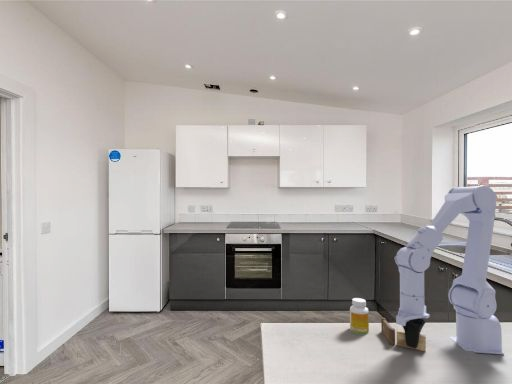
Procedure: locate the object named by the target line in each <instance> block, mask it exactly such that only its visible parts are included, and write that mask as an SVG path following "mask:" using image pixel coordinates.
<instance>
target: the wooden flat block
mask: <svg viewBox="0 0 512 384" xmlns="http://www.w3.org/2000/svg"><path fill="white" fill-rule="evenodd" d="M426 336H427V335H426V334H421V333H420V335H419V342H418V346H417V348H412V347H409V346H407V344H406V339H405V331H404V330H398V329H396V346H398V347H402V348H408V349H412V350H418V351H422V352H427V349H426V348H427V346H426V344H427V342H426V339H427V337H426Z"/></svg>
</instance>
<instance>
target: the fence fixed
mask: <svg viewBox="0 0 512 384" xmlns="http://www.w3.org/2000/svg"><path fill="white" fill-rule="evenodd" d="M380 320H381V324H380V325H381V333H382V334H383V335H384V337H385V338H386V339H387V341H388V344H389V346H396V329H395V328H393V327H392V326H391V325H390V323H388V321H387V319H386V318H385V317H381V319H380Z"/></svg>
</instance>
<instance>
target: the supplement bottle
mask: <svg viewBox="0 0 512 384" xmlns="http://www.w3.org/2000/svg"><path fill="white" fill-rule="evenodd" d="M351 300H352V301H351V304H352V305H351V306H350V308H349V331H351V332H352V333H354V334H357V335H368V334H369V333H370V329H369V327H370V324H369V323H370V321H369V320H370V319H369V318H370V317H369V316H370V315H369V313H370V311H369V308H368V307H366V306H367V301H366V299H364V298H360V297H354V298H351Z"/></svg>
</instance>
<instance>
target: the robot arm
mask: <svg viewBox="0 0 512 384" xmlns="http://www.w3.org/2000/svg"><path fill="white" fill-rule="evenodd" d="M497 199H498V195H497V194H496V193H495V191H494V190H493V189H492V188H491V187H490V186H489V185H485V184H482V185H477V186H454V187H452V188H450V189H449V190H448V192H447V194H445V195H444V203H443V204H442V206H441V207H440V209H439V210H438V212H437V213H436V215H435V216H434V218H433V219H432V221H431V222H430V224H429V225H424V226H421V227H418V229H417V232H416V234H415V235H414V236H413V238H412V239H411V240H410V241H408V243H407V245H406V246H404V247H401V248H400V249H399V250H398V251H397V252H396V255H395V256H394V261H395V264H396V266H397V267H398V273H399V308H398V311H397V312H398V313H397V314H396V316H395V320H396V321H395V324H397V325H400V326H402V328H403V331H405V339H406V344H407V346H409V347H412V348H417V346H418V342H419V335H420V334H421V332H422V330H423V327H424V326H425V325H426V320H425V319H429V318H430V316H431V315H430V313H427V305H425V271H426V270H427V269H428V268H430V265H431V259H432V256H433V253H434V252H435V250H436V249H437V248H438V247H439V245H440V244H441V243H442V241H443V240H444V237H443V233H444V231H446V229H447V228H448V227H449V226H450V225H451V224H452V222H453V221H455V220H456V218H457V217H458V216H459V215H460V214H461V215H463V216H464V217H465V218H466V219H467V220H468V221H469V224H468V228H467V231H468V232H467V236H466V242H465V243H466V244H465V251H464V257H463V265H462V271H461V275H459V276H457V277H456V278H454V279H453V281H452V285H451V287H450V289H449V290H448V293H447V295H448V300H449V303H450V304H451V305H453V310H455V317H456V318H455V324H456V326H455V327H456V328H455V329H456V330H455V331H456V332H455V333H456V336H449V339H451V340H452V341H453V342H455V344H457V345H458V346H459V347H461V349H463V350H464V351H466V352H467V351H469V352H474V353H478V354H492V355H494V354H495V355H505V352H504V350H503V342H502V341H503V340H502V339H503V337H502V336H503V335H502V334H503V333H502V326H501V322H500V321H499V319H498V318H497V316H495V313H496V311H497V307H498V305H497V301H496V292H497V291H496V290H495V288H493V286H492V285H491V284H490V283H489V282H488V281H487V275H488V268H489V262H490V255H491V246H492V240H493V233H494V226H495V225H494V224H495V216H496V210H497V209H496V207H497V203H498V202H497Z"/></svg>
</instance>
